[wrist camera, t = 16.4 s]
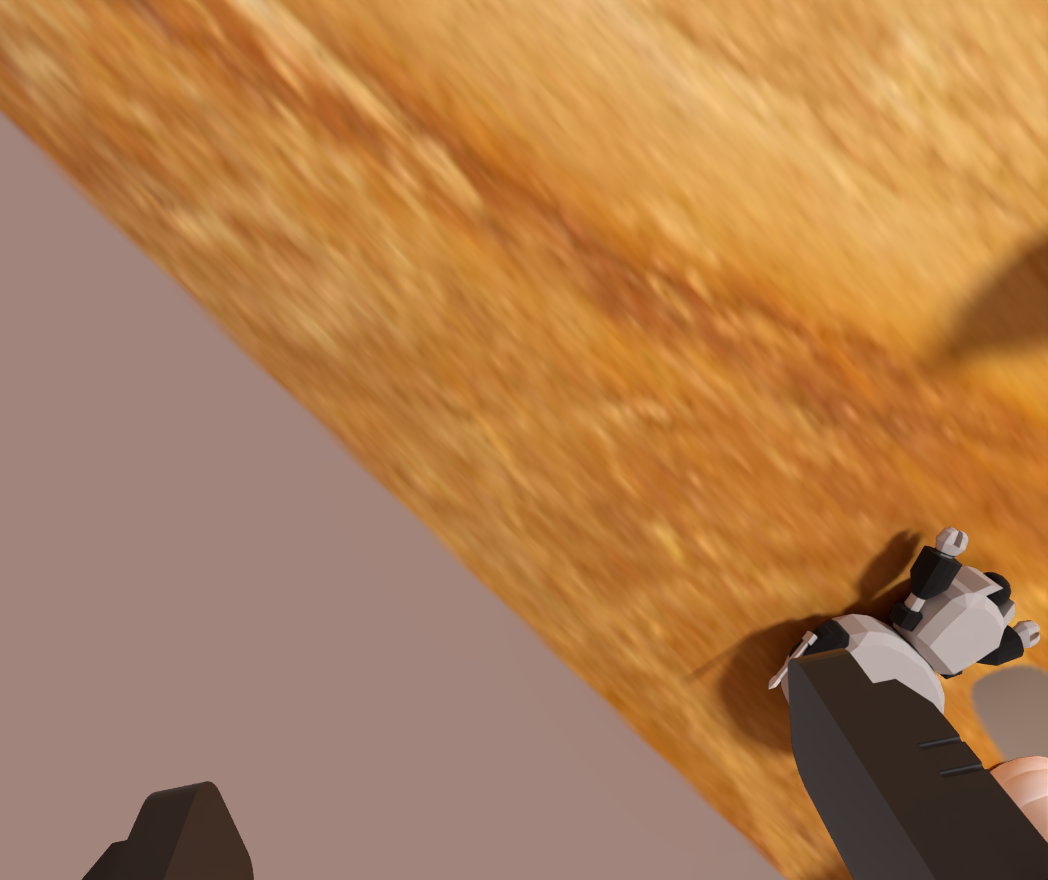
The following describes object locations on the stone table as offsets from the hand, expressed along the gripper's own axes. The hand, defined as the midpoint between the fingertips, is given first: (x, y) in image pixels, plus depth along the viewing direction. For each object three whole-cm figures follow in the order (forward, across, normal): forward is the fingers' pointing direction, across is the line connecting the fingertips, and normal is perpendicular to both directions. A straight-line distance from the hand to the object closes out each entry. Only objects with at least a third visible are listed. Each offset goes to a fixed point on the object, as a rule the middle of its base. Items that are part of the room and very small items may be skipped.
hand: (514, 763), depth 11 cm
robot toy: (+30, +22, -27) cm, 46 cm away
